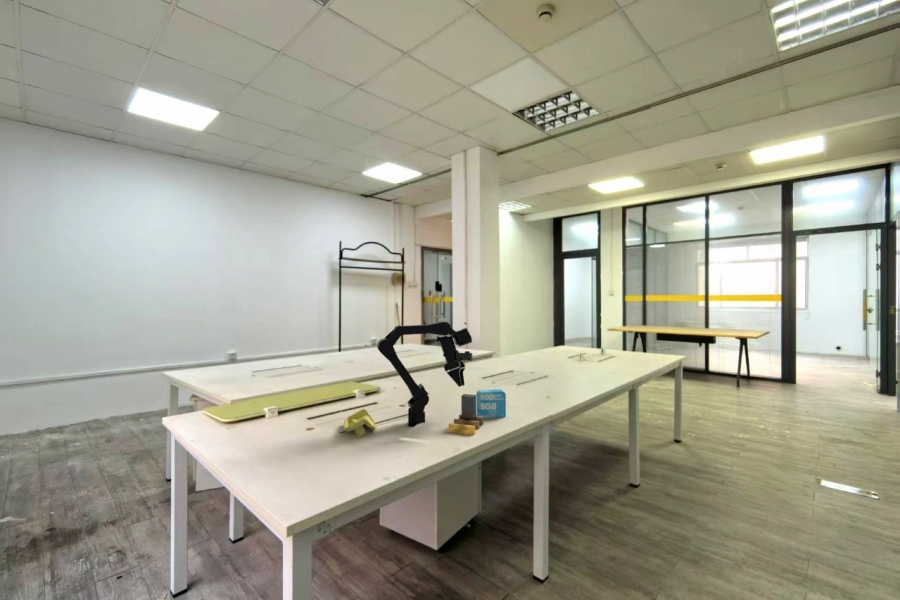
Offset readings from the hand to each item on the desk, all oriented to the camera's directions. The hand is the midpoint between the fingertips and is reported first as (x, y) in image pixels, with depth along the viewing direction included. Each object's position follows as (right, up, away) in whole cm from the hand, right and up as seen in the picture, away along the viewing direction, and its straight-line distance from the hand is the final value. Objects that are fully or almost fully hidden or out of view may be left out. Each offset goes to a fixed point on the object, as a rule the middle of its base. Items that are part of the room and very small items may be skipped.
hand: (461, 386), depth 155 cm
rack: (+2, -16, -8) cm, 18 cm away
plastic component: (-40, -16, -8) cm, 44 cm away
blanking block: (+3, -15, -5) cm, 16 cm away
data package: (+13, -16, +8) cm, 22 cm away
